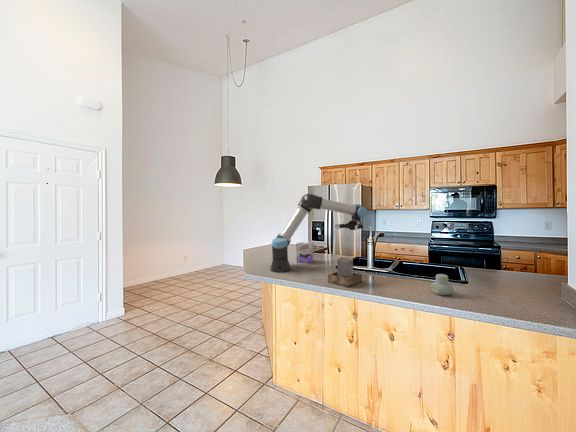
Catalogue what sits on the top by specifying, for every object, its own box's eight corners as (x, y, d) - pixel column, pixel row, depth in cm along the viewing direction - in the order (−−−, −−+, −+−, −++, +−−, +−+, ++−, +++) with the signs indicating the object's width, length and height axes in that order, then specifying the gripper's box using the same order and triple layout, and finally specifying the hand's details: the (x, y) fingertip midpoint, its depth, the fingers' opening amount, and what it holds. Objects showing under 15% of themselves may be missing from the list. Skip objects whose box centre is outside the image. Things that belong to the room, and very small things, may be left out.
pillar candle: (335, 278, 176) (335, 255, 175) (350, 277, 177) (350, 255, 176) (340, 283, 166) (339, 259, 165) (355, 282, 167) (355, 258, 166)
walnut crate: (328, 282, 172) (327, 274, 172) (342, 277, 182) (342, 270, 182) (347, 287, 161) (347, 279, 161) (362, 281, 171) (361, 274, 171)
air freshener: (428, 290, 152) (428, 273, 151) (442, 289, 152) (442, 272, 152) (440, 297, 141) (440, 278, 140) (456, 296, 142) (456, 277, 141)
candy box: (296, 262, 230) (296, 243, 229) (297, 260, 236) (296, 241, 235) (312, 262, 228) (312, 242, 227) (313, 260, 233) (312, 241, 233)
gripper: (369, 230, 206) (363, 233, 187) (337, 229, 217) (329, 232, 198) (369, 220, 205) (363, 222, 187) (337, 219, 217) (329, 222, 198)
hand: (345, 227), depth 192 cm, fingers open, 13 cm apart
